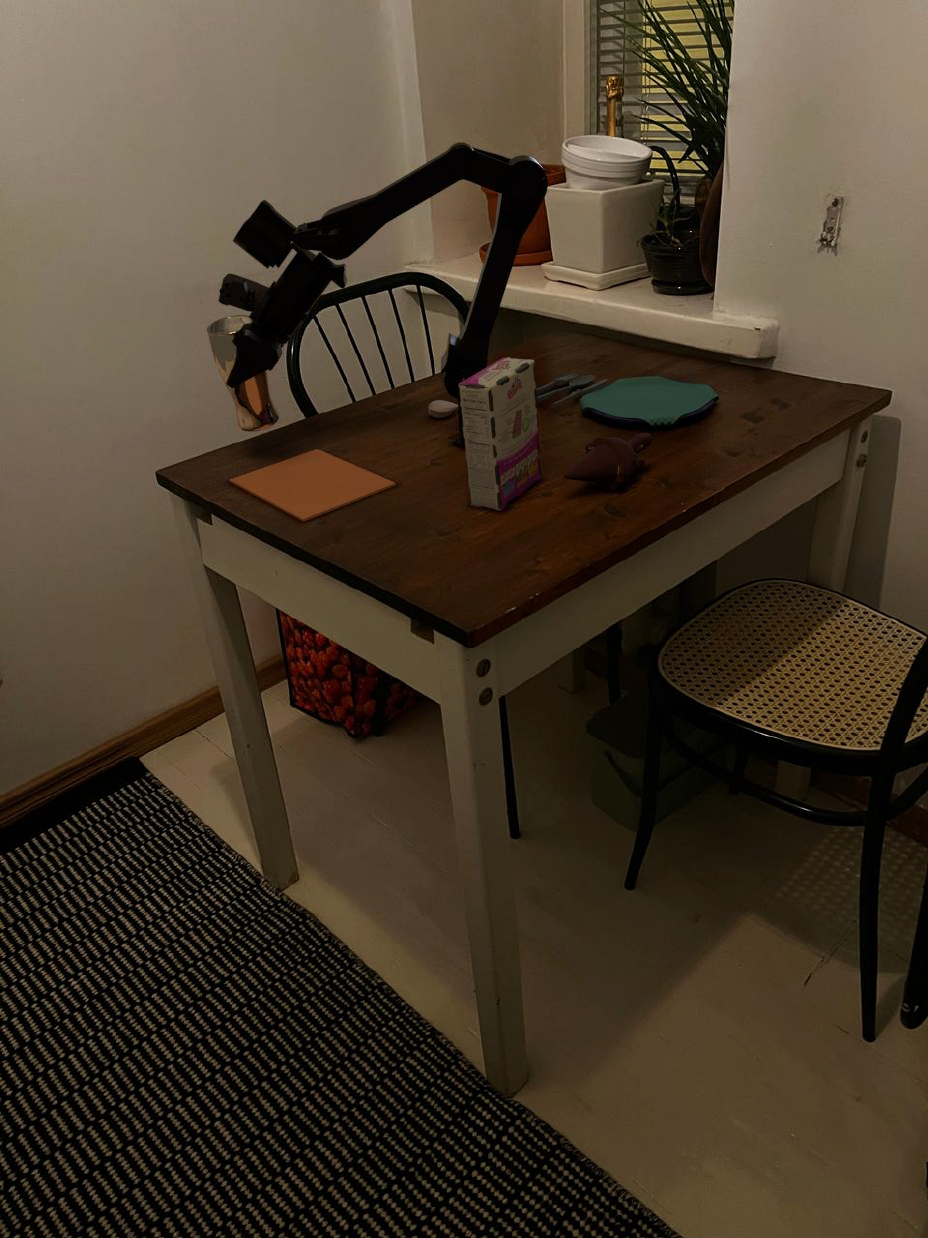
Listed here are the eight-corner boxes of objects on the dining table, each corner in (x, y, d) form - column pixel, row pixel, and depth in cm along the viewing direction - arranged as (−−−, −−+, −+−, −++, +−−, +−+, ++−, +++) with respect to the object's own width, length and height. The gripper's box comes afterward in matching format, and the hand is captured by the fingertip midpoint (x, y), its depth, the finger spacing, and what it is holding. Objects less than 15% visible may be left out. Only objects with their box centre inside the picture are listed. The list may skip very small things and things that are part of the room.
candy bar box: (510, 474, 131) (502, 355, 122) (542, 479, 128) (537, 358, 120) (467, 506, 123) (456, 381, 115) (500, 512, 121) (492, 386, 112)
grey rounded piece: (425, 414, 155) (424, 399, 153) (454, 409, 156) (453, 394, 154) (433, 422, 151) (432, 407, 150) (463, 416, 152) (462, 401, 151)
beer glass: (240, 413, 144) (210, 317, 135) (285, 407, 143) (258, 311, 134) (231, 435, 139) (200, 337, 129) (278, 430, 138) (250, 331, 129)
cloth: (396, 485, 131) (395, 482, 131) (303, 522, 123) (302, 519, 123) (317, 451, 144) (317, 448, 144) (229, 482, 137) (229, 479, 136)
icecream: (590, 466, 115) (674, 441, 123) (551, 437, 119) (634, 415, 127) (577, 514, 119) (659, 487, 127) (540, 484, 123) (621, 460, 131)
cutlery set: (667, 442, 136) (667, 426, 135) (509, 406, 155) (508, 392, 154) (739, 402, 148) (740, 387, 147) (584, 372, 167) (584, 359, 165)
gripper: (258, 239, 135) (200, 325, 141) (232, 265, 119) (168, 361, 125) (322, 290, 139) (263, 372, 145) (306, 323, 123) (239, 413, 129)
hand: (234, 378), depth 136 cm, fingers closed on beer glass, 7 cm apart
